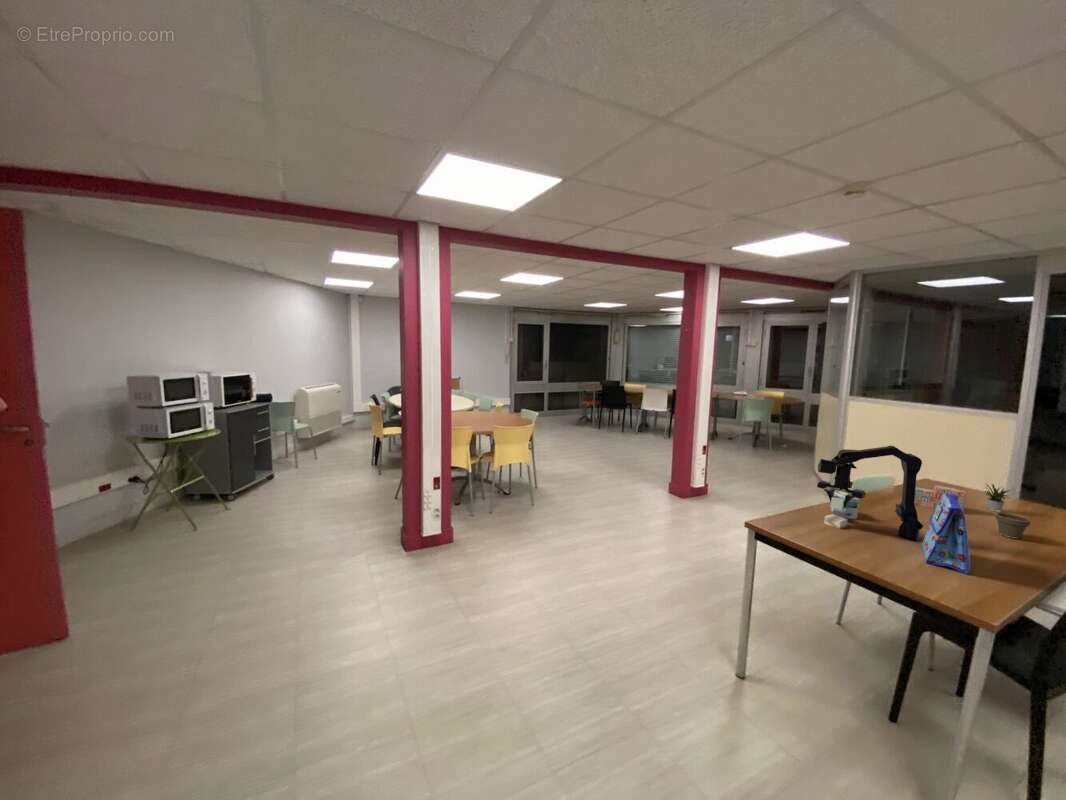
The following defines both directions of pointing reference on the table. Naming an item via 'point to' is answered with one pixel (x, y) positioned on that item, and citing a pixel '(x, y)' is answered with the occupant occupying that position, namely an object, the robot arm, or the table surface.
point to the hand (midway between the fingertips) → (838, 505)
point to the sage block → (837, 503)
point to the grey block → (839, 512)
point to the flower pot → (1011, 524)
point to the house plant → (996, 498)
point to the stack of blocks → (937, 496)
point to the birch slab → (835, 521)
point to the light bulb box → (849, 506)
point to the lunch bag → (947, 536)
